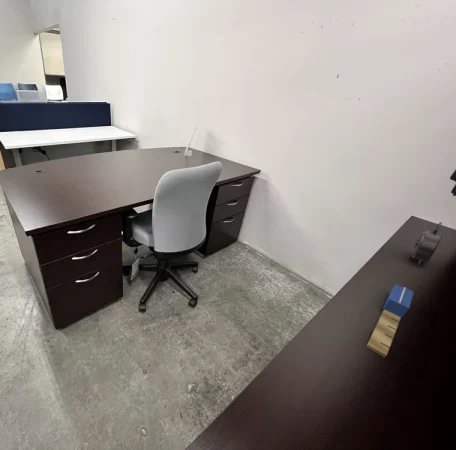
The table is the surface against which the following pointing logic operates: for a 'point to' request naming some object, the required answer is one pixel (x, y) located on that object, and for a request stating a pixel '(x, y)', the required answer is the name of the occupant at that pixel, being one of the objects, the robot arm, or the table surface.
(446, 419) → the table surface
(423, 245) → the alarm clock
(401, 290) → the pencil case
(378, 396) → the table surface
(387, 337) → the ruler
